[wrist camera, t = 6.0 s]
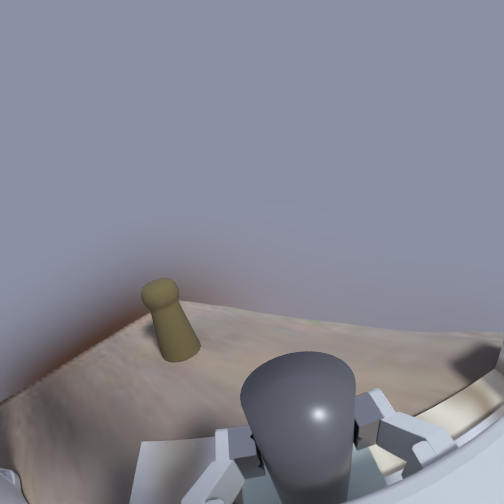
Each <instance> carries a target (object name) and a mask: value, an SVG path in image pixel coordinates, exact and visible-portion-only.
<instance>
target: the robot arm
mask: <svg viewBox="0 0 504 504" xmlns="http://www.w3.org/2000/svg"><path fill="white" fill-rule="evenodd" d="M353 443H354V445H355V448H356V450H357V451H358V450H361V449H364V448H367V447H370V446H372V445H375V444H376V445H377V446H379V447H381V448H383V449H384V450H386V451H388V452H390V453H391V454H393V455H395V456H397V457H398V458H400V459H402V460H404V461H406V465H405V467H404V469H403V472H402V474H401V476H402V478H403V479H402V480H400V481H398V482H395V483H393V484H391V485H389V486H386V487H384V488H382V489H379V490H377V491H374V492H372V493H369V494H367V495H364V496H361V497H358V498H356V499H353V500H350V501H347V502H344V503H341V504H504V414H503V415H502V416H501V417H500V418H499V419H497V420H496V421H495V422H494V423H492V424H491V425H490V426H488V427H487V428H486V429H485V430H483V431H482V432H481V433H479V434H478V435H476V436H475V437H474V438H472V439H471V440H469V441H468V442H466V443H465V444H463V445H462V446H460V447H458V446H457V445H456V443H455V442H454V440H453V439H452V438H451V436H450V435H449V434H448V432H447V431H446V430H445V428H443V427H440V426H437V425H434V424H431V423H429V422H426V421H423V420H420V419H417V418H415V417H412V416H409V415H407V414H404V413H402V412H397V413H396V412H395V410H394V409H393V407H392V406H391V404H390V403H389V401H388V400H387V398H386V397H385V395H384V394H383V392H382V391H381V390H380V389H379V388H376V389H373V390H371V391H368V392H365V393H362V394H360V395H357V396H355V421H354V437H353ZM261 476H266V474H265V468H264V462H263V460H262V457H261V454H260V451H259V449H258V446H257V444H256V441H255V439H254V436H253V434H252V431H251V429H250V426H249V425H246V426H239V427H232V428H225V429H217V430H216V432H215V461H214V462H211V463H210V465H209V466H208V467H207V469H206V470H205V471H204V473H203V474H202V475H201V476H200V478H199V479H198V480H197V481H196V483H195V484H194V485H193V486H192V488H191V489H190V490H189V491H188V493H187V494H186V495H185V496H184V497H183V499H182V500H181V504H232V503H233V502H234V500H235V498H236V496H237V495H238V493H239V491H240V489H241V487H242V486H243V484H244V482H245V479H250V478H256V477H261ZM0 504H28V503H27V502H26V500H25V498H24V497H23V495H22V492H21V485H20V479H19V476H18V475H17V474H16V473H14V472H13V471H12V470H9V469H2V468H0Z"/></svg>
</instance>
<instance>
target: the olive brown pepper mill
mask: <svg viewBox="0 0 504 504" xmlns="http://www.w3.org/2000/svg"><path fill="white" fill-rule="evenodd" d="M141 297H142V301H143V303H144V304H145V306H146V307H147V308H148V309H150V311H151V315H152V319H153V323H154V327H155V331H156V335H157V339H158V342H159V346H160V350H161V353H162V357H163V358H164V359H165V360H166V361H169V362H181V361H184V360H187V359H189V358H191V357H193V356H194V355H195V354H197V352H198V351H199V350H200V347H201V345H200V342H199V340H198V338H197V336H196V334H195V332H194V330H193V329H192V327H191V325H190V323H189V321H188V319H187V317H186V315H185V313H184V311H183V309H182V307H181V305H180V303H179V301H178V298H179V289H178V286H177V285H176V283H175V282H174V281H173V280H171V279H168V278H162V279H157V280H154V281H152V282H150V283H148V284H146V285H145V286H144V287H143V289H142V293H141Z"/></svg>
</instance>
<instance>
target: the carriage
mask: <svg viewBox="0 0 504 504" xmlns="http://www.w3.org/2000/svg"><path fill="white" fill-rule="evenodd" d="M355 392H356V383H355V377H354V374H353V372H352V370H351V369H350V367H349V366H348V365H347V364H346V363H345V362H343V361H342V360H341V359H339V358H337V357H335V356H332V355H329V354H326V353H321V352H295V353H290V354H286V355H282V356H279V357H276V358H274V359H272V360H269V361H267V362H266V363H264V364H262V365H261V366H259V367H258V368H257V369H255V370H254V371H253V372H252V373H251V374H250V375H249V376H248V378H247V379H246V380H245V382H244V384H243V386H242V389H241V394H240V400H241V405H242V408H243V410H244V413H245V416H246V418H247V421H248V424H249V426H250V429H251V431H252V434H253V436H254V439H255V441H256V444H257V446H258V449H259V451H260V454H261V457H262V460H263V462H264V468H265V474H266V476H261V477H256V478H250V479H245V482H244V484H243V486H242V494H243V503H244V504H341V503H344V502H347V501H350V500H353V499H356V498H358V497H361V496H364V495H367V494H369V493H372V492H374V491H377V490H379V489H382V488H384V487H386V486H387V484H386V482H385V480H384V477H383V475H382V473H381V471H380V469H379V467H378V465H377V463H376V461H375V459H374V457H373V455H372V453H371V451H370V449H369V447H367V448H364V449H361V450H358V451H357V450H356V448H355V445H354V443H353V437H354V421H355Z"/></svg>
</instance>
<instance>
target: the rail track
mask: <svg viewBox="0 0 504 504" xmlns="http://www.w3.org/2000/svg"><path fill="white" fill-rule="evenodd" d="M503 414H504V342H503V345H502V348H501V352H500V355H499V358H498V361H497V364H496V367H495V368H494V369H493V370H492V371H490V372H489V373H487V374H486V375H485V376H483V377H482V378H480V379H479V380H477V381H476V382H474V383H473V384H471V385H470V386H468V387H467V388H465V389H464V390H462V391H460V392H459V393H457V394H456V395H454V396H452V397H451V398H449V399H447V400H445V401H444V402H442V403H440V404H438V405H437V406H435V407H433V408H431V409H429V410H427V411H425V412H423V413H421V414H419V415H418V416H415V418H417V419H420V420H423V421H426V422H429V423H431V424H434V425H437V426H440V427H443V428H445V430H446V431H447V432H448V434H449V435H450V436H451V438H452V439H453V440H454V442H455V443H456V445H457V446H458V447H460V446H462V445H463V444H465V443H466V442H468V441H469V440H471V439H472V438H474V437H475V436H476V435H478V434H479V433H481V432H482V431H483V430H485V429H486V428H487V427H488V426H490V425H491V424H492V423H494V422H495V421H496V420H497V419H499V418H500V417H501V416H502V415H503ZM369 449H370V451H371V453H372V455H373V457H374V459H375V461H376V463H377V465H378V467H379V469H380V471H381V473H382V475H383V477H384V480H385V482H386V484H387V486H389V485H391V484H393V483H395V482H398V481H400V480H402V479H403V478H402V476H401V474H402V472H403V469H404V467H405V465H406V461H404V460H402V459H400V458H398V457H397V456H395V455H393V454H391V453H390V452H388V451H386V450H384V449H383V448H381V447H379V446H377V445H376V444H375V445H372V446H370V447H369ZM214 461H215V436H213V437H205V438H196V439H185V440H170V441H145V442H142V443H141V448H140V453H139V457H138V462H137V467H136V472H135V477H134V482H133V487H132V492H131V498H130V503H129V504H181V500H182V499H183V497H184V496H185V495H186V494H187V493H188V491H189V490H190V489H191V488H192V486H193V485H194V484H195V483H196V481H197V480H198V479H199V478H200V476H201V475H202V474H203V473H204V471H205V470H206V469H207V467H208V466H209V465H210V463H211V462H214ZM232 504H244V503H243V494H242V487H241V489H240V491H239V493H238V495H237V496H236V498H235V500H234V502H233V503H232Z"/></svg>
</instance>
